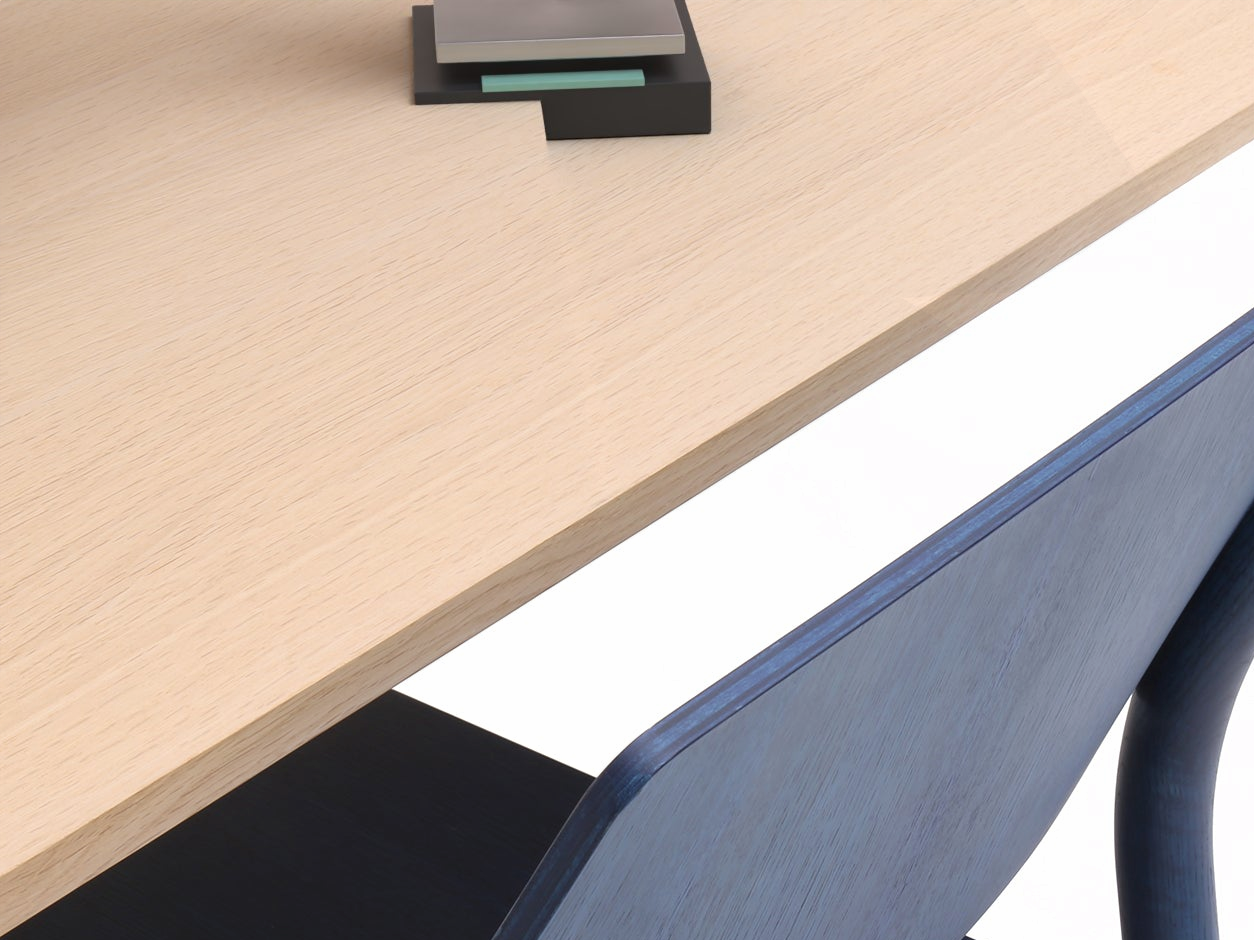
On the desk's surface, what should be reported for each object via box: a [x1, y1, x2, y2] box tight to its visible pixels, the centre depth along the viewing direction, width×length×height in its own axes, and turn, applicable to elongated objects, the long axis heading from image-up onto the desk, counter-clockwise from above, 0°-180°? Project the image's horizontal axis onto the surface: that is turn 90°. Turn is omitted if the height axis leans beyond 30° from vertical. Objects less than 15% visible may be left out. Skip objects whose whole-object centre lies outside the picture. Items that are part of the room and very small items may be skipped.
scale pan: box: [432, 0, 685, 64], centre depth 90 cm, size 9×9×1 cm
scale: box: [411, 0, 712, 140], centre depth 91 cm, size 11×10×2 cm
